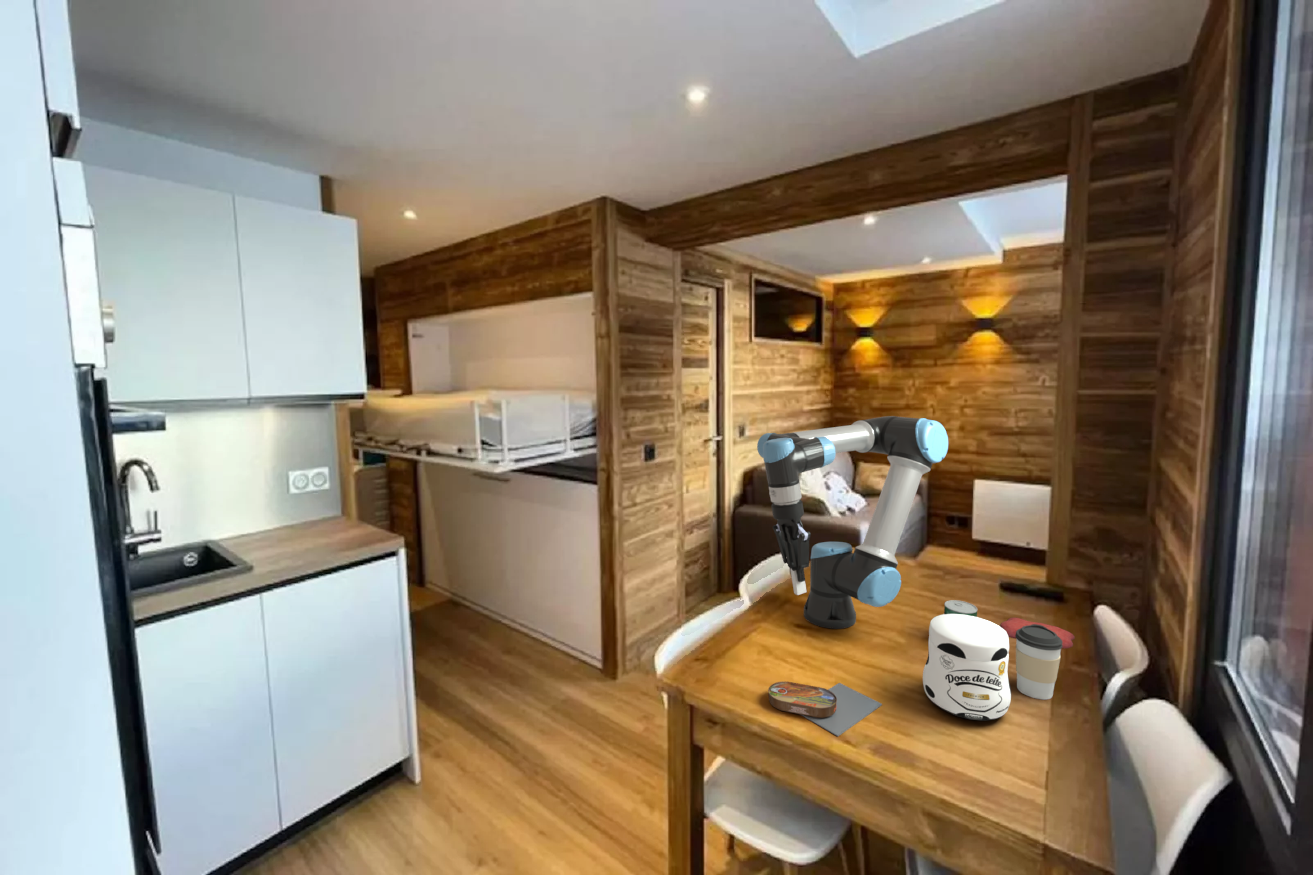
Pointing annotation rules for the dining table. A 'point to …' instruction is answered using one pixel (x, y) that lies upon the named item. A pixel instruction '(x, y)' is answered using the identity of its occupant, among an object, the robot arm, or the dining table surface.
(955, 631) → the doce de leite jar
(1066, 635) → the red flat irregular piece
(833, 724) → the slate board
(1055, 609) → the dining table surface
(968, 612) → the canned tomato
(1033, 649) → the coffee cup
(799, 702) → the tin
